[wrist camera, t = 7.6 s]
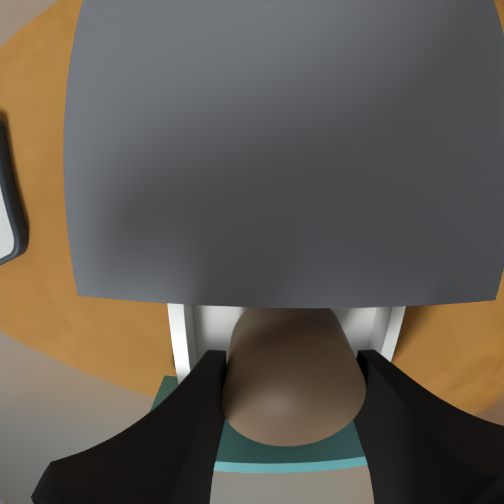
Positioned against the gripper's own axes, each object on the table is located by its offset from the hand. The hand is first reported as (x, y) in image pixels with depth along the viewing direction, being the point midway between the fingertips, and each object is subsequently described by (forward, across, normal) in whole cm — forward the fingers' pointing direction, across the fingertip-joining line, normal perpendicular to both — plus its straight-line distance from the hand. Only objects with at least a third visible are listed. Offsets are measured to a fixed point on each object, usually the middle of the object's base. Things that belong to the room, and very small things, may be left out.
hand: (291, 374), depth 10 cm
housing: (+5, 0, -10) cm, 11 cm away
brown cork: (+2, 0, 0) cm, 2 cm away
